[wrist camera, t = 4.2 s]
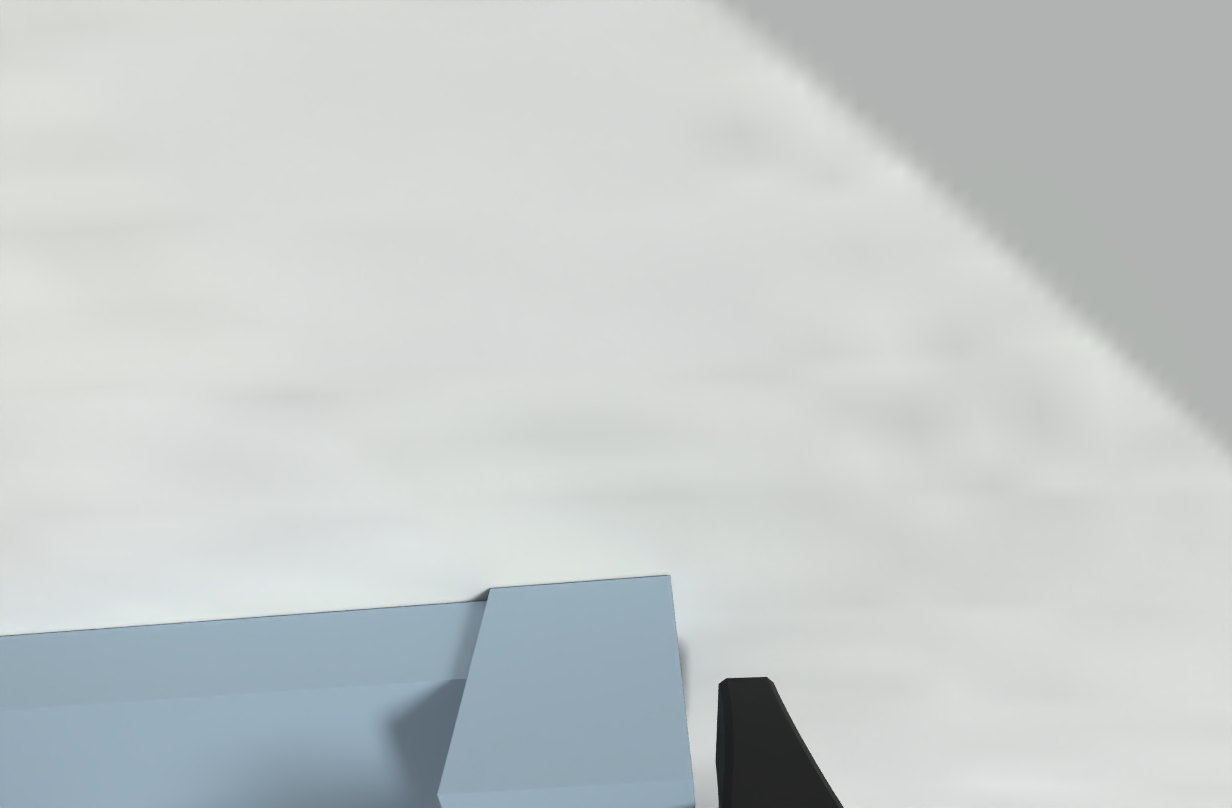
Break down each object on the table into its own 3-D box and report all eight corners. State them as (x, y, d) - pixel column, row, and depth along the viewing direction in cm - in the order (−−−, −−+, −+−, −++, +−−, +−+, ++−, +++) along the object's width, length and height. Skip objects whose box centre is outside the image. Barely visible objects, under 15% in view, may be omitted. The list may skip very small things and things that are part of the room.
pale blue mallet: (680, 720, 12) (703, 942, 9) (-103, 772, 13) (-341, 995, 10) (670, 575, 11) (693, 778, 7) (-218, 641, 11) (-546, 855, 8)
